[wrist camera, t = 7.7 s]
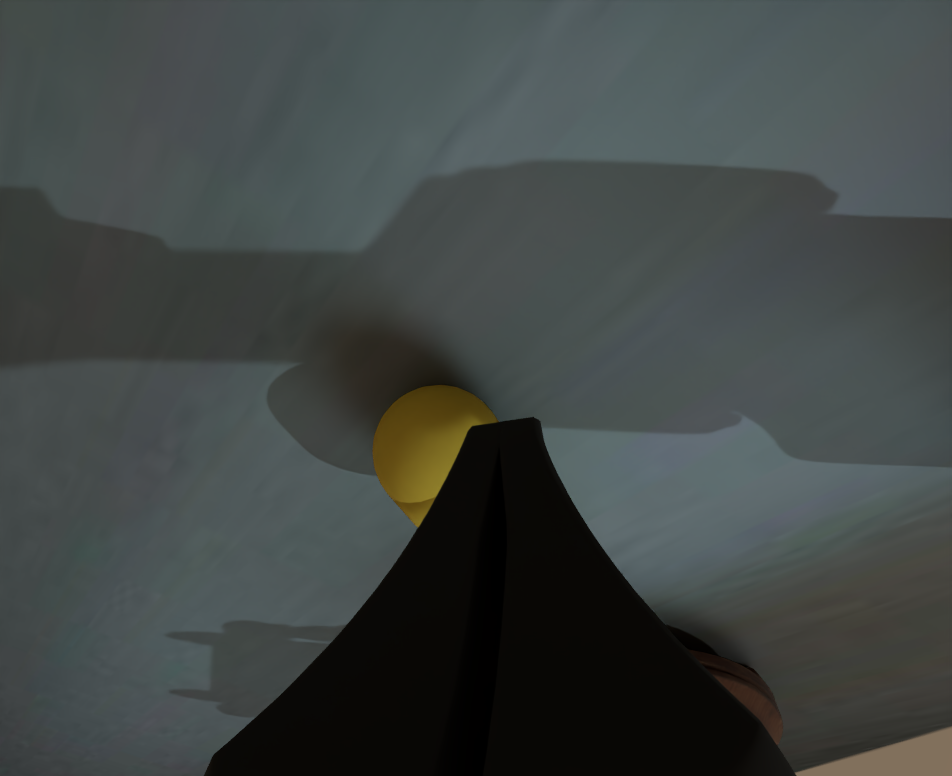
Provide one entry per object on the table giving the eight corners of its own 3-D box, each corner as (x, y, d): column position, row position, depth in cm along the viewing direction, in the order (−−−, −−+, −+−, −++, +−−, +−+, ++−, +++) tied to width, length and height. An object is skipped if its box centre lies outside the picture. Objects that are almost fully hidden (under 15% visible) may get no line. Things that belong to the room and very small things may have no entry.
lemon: (543, 458, 23) (550, 549, 19) (446, 494, 24) (434, 586, 20) (466, 340, 20) (458, 421, 16) (361, 389, 21) (330, 475, 17)
